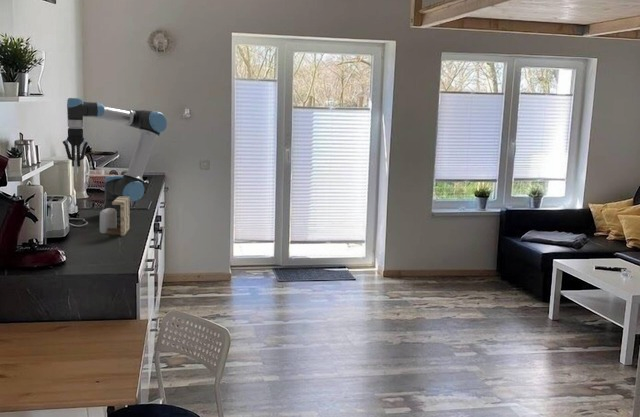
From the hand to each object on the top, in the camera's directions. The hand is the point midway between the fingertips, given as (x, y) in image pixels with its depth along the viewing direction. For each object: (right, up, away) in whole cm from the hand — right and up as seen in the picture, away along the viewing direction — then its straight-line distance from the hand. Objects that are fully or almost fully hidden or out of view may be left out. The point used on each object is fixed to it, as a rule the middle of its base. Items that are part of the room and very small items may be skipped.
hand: (76, 172), depth 329 cm
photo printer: (+19, -31, -6) cm, 37 cm away
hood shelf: (+24, -31, -5) cm, 40 cm away
